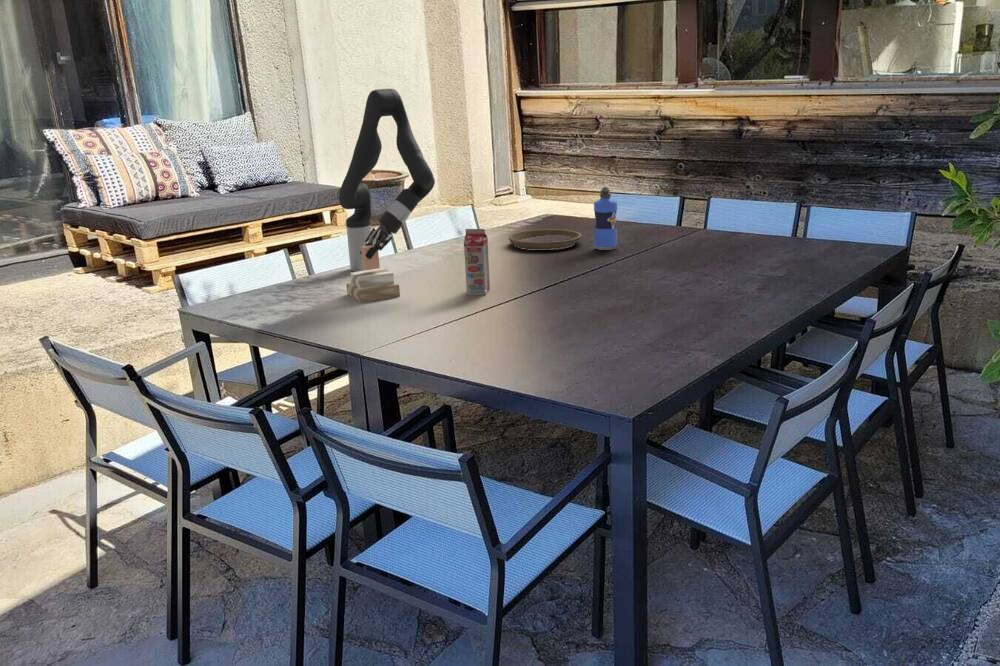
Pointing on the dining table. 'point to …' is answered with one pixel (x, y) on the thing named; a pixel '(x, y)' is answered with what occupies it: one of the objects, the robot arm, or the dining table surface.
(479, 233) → the juice carton
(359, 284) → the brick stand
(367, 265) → the terracotta brick
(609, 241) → the water bottle
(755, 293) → the dining table surface
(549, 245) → the plant saucer
